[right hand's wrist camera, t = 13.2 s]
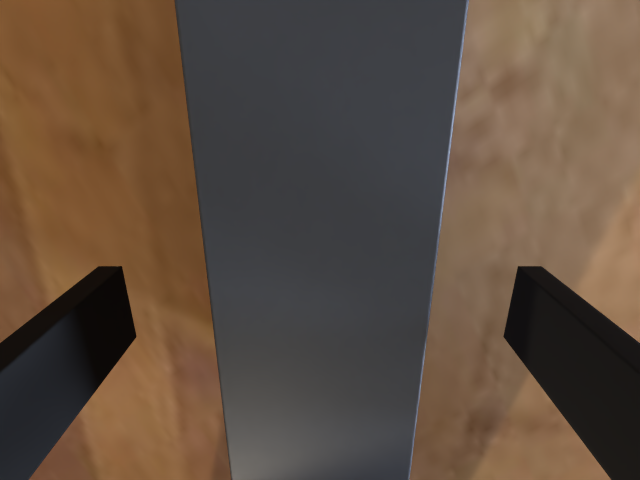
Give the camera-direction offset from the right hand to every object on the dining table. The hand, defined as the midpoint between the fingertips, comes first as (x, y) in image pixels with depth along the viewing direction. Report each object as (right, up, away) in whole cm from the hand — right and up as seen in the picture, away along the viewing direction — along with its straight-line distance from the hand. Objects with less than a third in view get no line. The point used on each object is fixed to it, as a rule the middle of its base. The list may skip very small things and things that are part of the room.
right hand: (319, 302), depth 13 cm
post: (0, +25, -6) cm, 26 cm away
